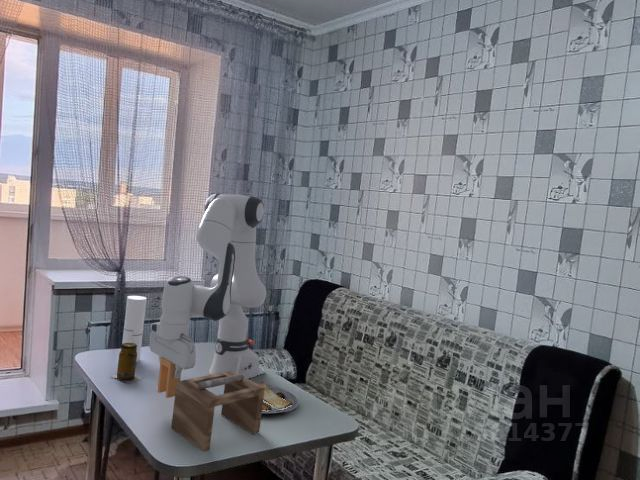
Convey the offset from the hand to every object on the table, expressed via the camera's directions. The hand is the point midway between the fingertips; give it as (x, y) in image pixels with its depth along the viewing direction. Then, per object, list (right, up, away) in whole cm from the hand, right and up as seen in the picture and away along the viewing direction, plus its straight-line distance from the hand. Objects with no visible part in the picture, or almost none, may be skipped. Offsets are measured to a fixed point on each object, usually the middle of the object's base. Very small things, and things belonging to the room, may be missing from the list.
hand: (170, 374), depth 153 cm
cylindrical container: (-29, -7, +45) cm, 54 cm away
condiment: (-23, -9, +26) cm, 36 cm away
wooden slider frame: (+15, -15, -6) cm, 22 cm away
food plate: (+26, -16, +20) cm, 36 cm away
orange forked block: (-1, -6, +1) cm, 6 cm away
